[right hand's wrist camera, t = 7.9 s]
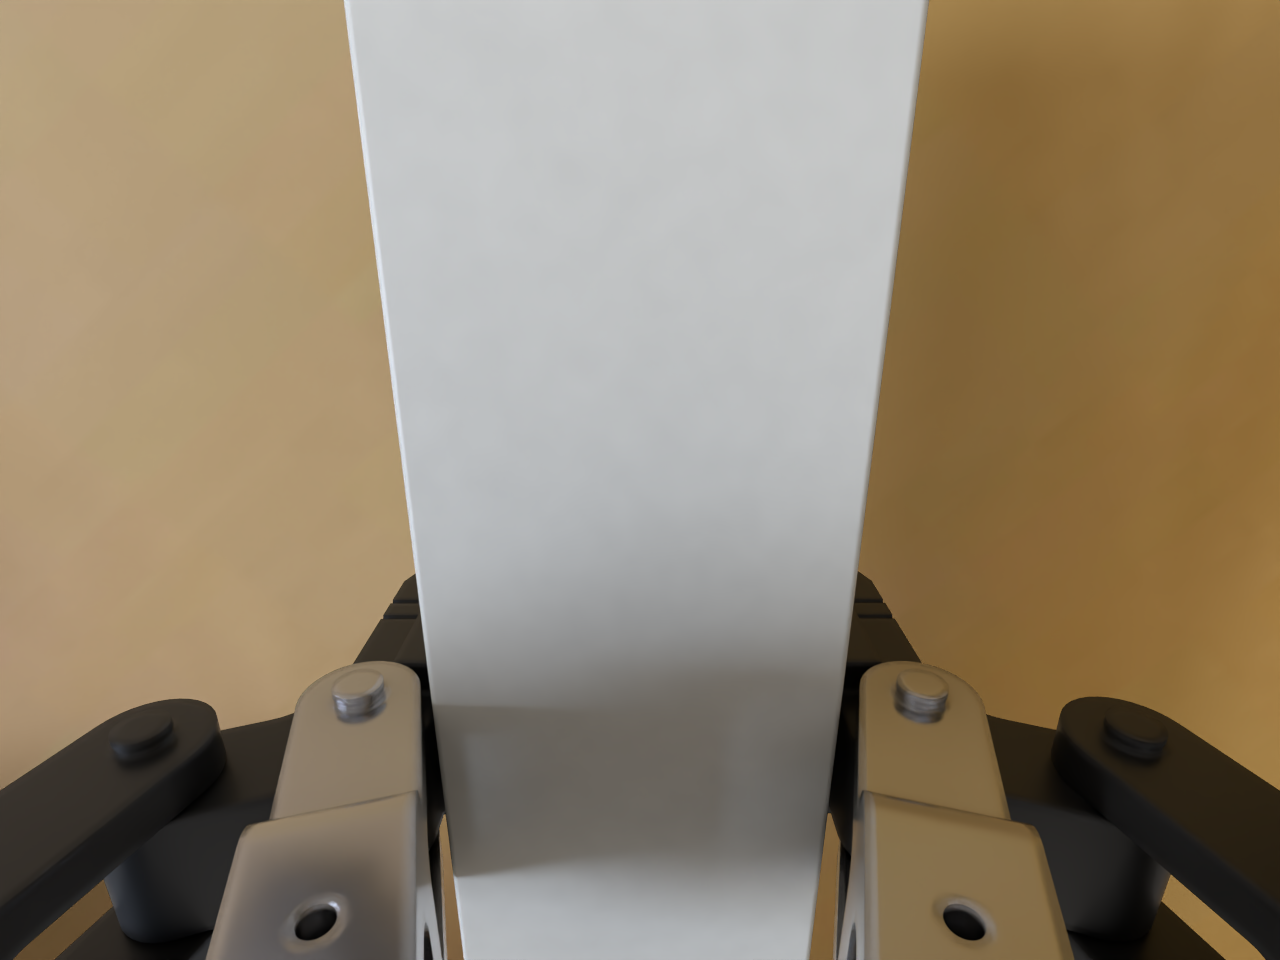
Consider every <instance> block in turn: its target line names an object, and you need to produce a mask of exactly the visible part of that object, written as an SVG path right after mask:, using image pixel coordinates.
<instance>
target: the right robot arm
mask: <svg viewBox="0 0 1280 960" xmlns="http://www.w3.org/2000/svg"><path fill="white" fill-rule="evenodd" d="M383 616H384V617H383V619H381V620H380V622H379V623H378V625H377V626H376V628H375V630H374V631H373V633H372V634H371V636H370V638H369V639H368V641H367V642H366V644H365V646H364V647H363V649H362V650H361V652H360V654H359V655H358V657H357V658H356V660H355V662H354V663H353V664H352V665H349V666H345V667H342V668H340V669H337V670H335V671H332V672H330V673H328V674H326V675H324V676H323V677H321V678H320V679H318V680H316V681H315V682H314V683H313V684H311V685H310V686H309V687H308V688H307V689H306V690H305V691H304V692H303V693H302V695H301V696H300V698H299V699H298V702H297V705H296V708H295V712H294V713H293V714H290V715H287V716H284V717H281V718H277V719H273V720H269V721H264V722H259V723H254V724H250V725H245V726H240V727H235V728H230V729H226V730H221V731H220V727H219V723H218V719H217V715H216V712H215V711H214V709H213V708H212V707H211V706H210V705H208V704H206V703H204V702H201V701H199V700H193V699H169V700H163V701H157V702H153V703H149V704H145V705H142V706H139V707H136V708H133V709H130V710H128V711H126V712H123V713H121V714H119V715H117V716H115V717H113V718H111V719H109V720H107V721H105V722H104V723H102V724H100V725H99V726H97V727H95V728H94V729H92V730H91V731H89V732H88V733H86V734H85V735H83V736H82V737H80V738H79V739H77V740H76V741H74V742H73V743H71V744H70V745H68V746H67V747H65V748H64V749H62V750H61V751H59V752H58V753H56V754H55V755H53V756H52V757H50V758H49V759H47V760H46V761H44V762H43V763H41V764H40V765H38V766H37V767H35V768H34V769H32V770H31V771H29V772H28V773H26V774H25V775H23V776H22V777H20V778H19V779H17V780H16V781H14V782H13V783H11V784H10V785H8V786H7V787H5V788H4V789H2V790H1V791H0V960H13V959H14V958H15V957H16V955H17V954H18V953H19V952H20V951H21V950H22V949H23V948H24V947H26V946H27V945H28V944H29V943H30V942H31V941H32V940H34V939H35V938H36V937H37V936H38V935H39V934H40V933H42V932H43V931H44V930H45V929H46V928H47V927H49V926H50V925H51V924H52V923H53V922H54V921H55V920H57V919H58V918H59V917H60V916H61V915H62V914H64V913H65V912H66V911H67V910H68V909H69V908H71V907H72V906H73V905H74V904H75V903H76V902H77V901H79V900H80V899H81V898H82V897H83V896H84V895H86V894H87V893H88V892H89V891H90V890H91V889H92V888H94V887H95V886H96V885H97V884H98V883H99V882H101V881H102V880H103V879H104V882H105V885H106V887H107V890H108V893H109V896H110V898H111V901H112V904H113V907H112V908H111V909H110V910H108V911H107V912H106V913H105V914H104V915H103V916H102V917H101V918H100V919H99V920H98V921H96V922H95V923H94V924H93V925H92V926H91V927H90V928H89V929H88V930H87V931H85V932H84V933H83V934H82V935H81V936H80V937H79V938H78V939H77V940H76V941H74V942H73V943H72V944H71V945H70V946H69V947H68V948H67V949H66V950H65V951H63V952H62V953H61V954H60V955H59V956H58V957H57V958H56V959H55V960H447V943H446V920H445V897H444V874H443V855H442V847H441V840H440V832H439V827H440V824H441V821H442V818H443V815H444V814H446V811H445V804H444V796H443V788H442V780H441V772H440V764H439V756H438V748H437V740H436V732H435V724H434V716H433V708H432V700H431V692H430V684H429V676H428V668H427V660H426V652H425V644H424V636H423V628H422V620H421V612H420V604H419V596H418V588H417V580H416V574H414V575H413V576H412V577H410V578H409V579H407V580H406V581H404V583H403V585H402V586H401V588H400V589H399V591H398V593H397V594H396V596H395V597H394V599H393V604H390V605H389V607H388V609H387V610H386V612H385V613H384V615H383ZM828 813H831V814H832V818H833V821H834V824H835V827H836V831H837V834H838V836H839V839H840V841H839V848H838V856H837V877H836V899H835V922H834V945H833V960H1225V959H1224V958H1223V957H1222V956H1221V955H1220V954H1219V953H1218V952H1217V951H1215V950H1214V949H1213V948H1212V947H1211V946H1210V945H1209V944H1208V943H1207V942H1206V941H1204V940H1203V939H1202V938H1201V937H1200V936H1199V935H1198V934H1197V933H1196V932H1195V931H1193V930H1192V929H1191V928H1190V927H1189V926H1188V925H1187V924H1186V923H1185V922H1184V921H1182V920H1181V919H1180V918H1179V917H1178V916H1177V915H1176V914H1175V913H1174V912H1173V911H1172V910H1170V909H1169V908H1168V907H1167V906H1166V905H1165V904H1164V903H1163V902H1162V901H1161V900H1162V897H1163V894H1164V892H1165V889H1166V886H1167V883H1168V880H1169V877H1170V875H1172V876H1174V877H1175V878H1176V879H1177V880H1178V881H1179V882H1181V883H1182V884H1183V885H1184V886H1185V887H1186V888H1187V889H1189V890H1190V891H1191V892H1192V893H1193V894H1194V895H1196V896H1197V897H1198V898H1199V899H1200V900H1201V901H1203V902H1204V903H1205V904H1206V905H1207V906H1208V907H1209V908H1211V909H1212V910H1213V911H1214V912H1215V913H1216V914H1218V915H1219V916H1220V917H1221V918H1222V919H1223V920H1224V921H1226V922H1227V923H1228V924H1229V925H1230V926H1231V927H1233V928H1234V929H1235V930H1236V931H1237V932H1238V933H1240V934H1241V935H1242V936H1243V937H1244V938H1245V939H1246V940H1248V941H1249V942H1250V943H1251V944H1252V945H1253V946H1254V947H1255V948H1256V949H1257V950H1258V951H1259V952H1260V953H1261V954H1262V956H1263V957H1264V958H1265V959H1266V960H1280V791H1279V790H1278V789H1276V788H1275V787H1273V786H1272V785H1270V784H1269V783H1267V782H1266V781H1264V780H1263V779H1261V778H1260V777H1258V776H1257V775H1255V774H1254V773H1252V772H1251V771H1249V770H1248V769H1246V768H1245V767H1243V766H1242V765H1240V764H1239V763H1237V762H1236V761H1234V760H1233V759H1231V758H1230V757H1228V756H1227V755H1225V754H1224V753H1222V752H1221V751H1219V750H1218V749H1216V748H1215V747H1213V746H1212V745H1210V744H1209V743H1207V742H1206V741H1204V740H1203V739H1201V738H1200V737H1198V736H1197V735H1195V734H1194V733H1192V732H1191V731H1189V730H1188V729H1186V728H1185V727H1183V726H1181V725H1180V724H1178V723H1177V722H1175V721H1173V720H1172V719H1170V718H1168V717H1166V716H1164V715H1162V714H1160V713H1158V712H1156V711H1154V710H1152V709H1149V708H1147V707H1144V706H1141V705H1138V704H1135V703H1132V702H1128V701H1124V700H1120V699H1114V698H1108V697H1085V698H1079V699H1076V700H1073V701H1071V702H1069V703H1068V704H1066V705H1065V706H1064V708H1063V709H1062V711H1061V714H1060V718H1059V722H1058V726H1057V730H1053V729H1048V728H1043V727H1039V726H1034V725H1029V724H1024V723H1019V722H1015V721H1010V720H1005V719H1001V718H997V717H993V716H990V715H987V714H986V712H985V707H984V704H983V702H982V699H981V698H980V696H979V695H978V693H977V692H976V691H975V690H974V689H973V688H972V687H971V686H970V685H969V684H967V683H966V682H965V681H964V680H962V679H960V678H959V677H957V676H956V675H954V674H952V673H950V672H948V671H945V670H943V669H940V668H938V667H935V666H931V665H928V664H923V663H921V661H920V659H919V658H918V656H917V654H916V653H915V651H914V650H913V648H912V646H911V645H910V643H909V641H908V640H907V638H906V636H905V635H904V633H903V632H902V630H901V628H900V627H899V625H898V623H897V622H896V620H895V619H892V614H891V612H890V610H889V609H888V607H887V605H886V604H885V603H883V599H882V597H881V596H880V594H879V592H878V591H877V589H876V587H875V586H874V584H873V582H872V581H871V580H870V579H868V578H867V577H865V576H864V575H862V574H861V573H860V572H858V573H857V581H856V589H855V597H854V605H853V613H852V621H851V629H850V637H849V645H848V653H847V661H846V669H845V677H844V685H843V693H842V701H841V709H840V717H839V725H838V733H837V741H836V749H835V757H834V765H833V773H832V781H831V789H830V797H829V805H828Z"/></svg>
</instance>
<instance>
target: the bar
mask: <svg viewBox="0 0 1280 960" xmlns="http://www.w3.org/2000/svg"><path fill="white" fill-rule="evenodd" d="M928 4H929V0H344V6H345V14H346V21H347V29H348V37H349V45H350V53H351V61H352V69H353V77H354V85H355V93H356V101H357V109H358V117H359V125H360V133H361V141H362V149H363V157H364V165H365V173H366V181H367V189H368V197H369V205H370V213H371V221H372V229H373V237H374V245H375V253H376V261H377V269H378V277H379V285H380V293H381V301H382V309H383V317H384V325H385V333H386V341H387V349H388V357H389V365H390V373H391V381H392V389H393V397H394V405H395V413H396V420H397V428H398V436H399V444H400V452H401V460H402V468H403V476H404V484H405V492H406V500H407V508H408V516H409V524H410V532H411V540H412V548H413V556H414V564H415V572H416V580H417V588H418V596H419V604H420V612H421V620H422V628H423V636H424V644H425V652H426V660H427V668H428V676H429V684H430V692H431V700H432V708H433V716H434V724H435V732H436V740H437V748H438V756H439V764H440V772H441V780H442V788H443V796H444V804H445V811H446V819H447V827H448V835H449V843H450V851H451V859H452V867H453V875H454V883H455V891H456V899H457V907H458V915H459V923H460V931H461V939H462V947H463V955H464V960H809V957H810V949H811V941H812V933H813V925H814V917H815V909H816V901H817V893H818V885H819V877H820V869H821V861H822V853H823V845H824V837H825V829H826V821H827V813H828V805H829V797H830V789H831V781H832V773H833V765H834V757H835V749H836V741H837V733H838V725H839V717H840V709H841V701H842V693H843V685H844V677H845V669H846V661H847V653H848V645H849V637H850V629H851V621H852V613H853V605H854V597H855V589H856V581H857V573H858V565H859V557H860V549H861V541H862V533H863V525H864V517H865V509H866V501H867V493H868V485H869V477H870V469H871V461H872V453H873V445H874V437H875V429H876V421H877V413H878V405H879V397H880V389H881V381H882V373H883V365H884V357H885V349H886V341H887V333H888V325H889V317H890V309H891V301H892V293H893V285H894V277H895V269H896V261H897V253H898V245H899V237H900V229H901V221H902V213H903V205H904V197H905V189H906V181H907V173H908V165H909V157H910V149H911V141H912V133H913V125H914V117H915V109H916V101H917V93H918V85H919V77H920V69H921V61H922V52H923V44H924V36H925V28H926V20H927V12H928Z"/></svg>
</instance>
